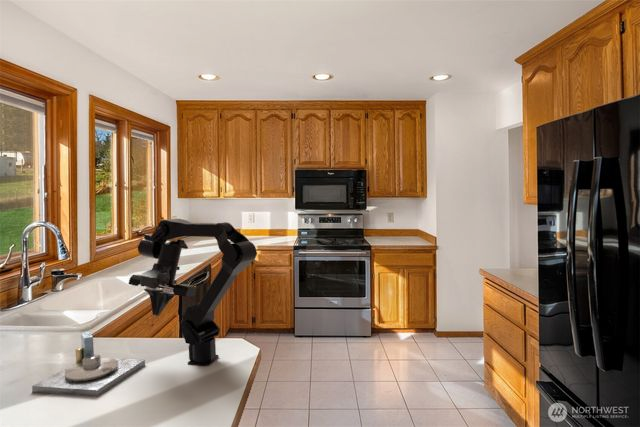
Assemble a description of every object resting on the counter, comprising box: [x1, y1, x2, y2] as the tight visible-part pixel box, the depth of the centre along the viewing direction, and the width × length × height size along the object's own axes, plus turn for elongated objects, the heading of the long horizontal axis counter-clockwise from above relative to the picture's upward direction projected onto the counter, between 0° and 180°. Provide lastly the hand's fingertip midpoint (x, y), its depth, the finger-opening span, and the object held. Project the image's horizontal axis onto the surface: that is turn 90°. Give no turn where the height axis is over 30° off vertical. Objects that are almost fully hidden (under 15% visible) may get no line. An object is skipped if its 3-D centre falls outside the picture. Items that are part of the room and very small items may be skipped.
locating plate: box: [31, 347, 146, 398], centre depth 103 cm, size 18×18×6 cm
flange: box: [65, 331, 118, 381], centre depth 104 cm, size 14×12×8 cm
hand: (155, 315), depth 114 cm, fingers closed
